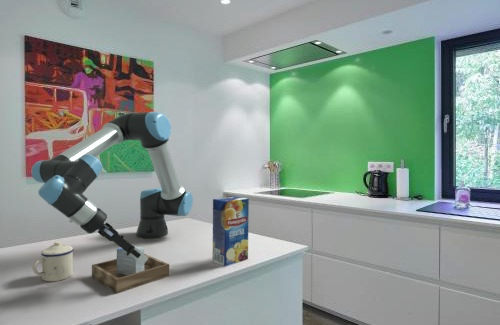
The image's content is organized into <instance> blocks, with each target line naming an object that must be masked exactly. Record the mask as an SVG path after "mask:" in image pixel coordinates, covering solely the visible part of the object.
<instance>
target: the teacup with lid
mask: <svg viewBox="0 0 500 325" xmlns="http://www.w3.org/2000/svg"><path fill="white" fill-rule="evenodd" d="M73 253H74V248H73V247H72V246H71V245H66V244H64V243H62V241H59V240H58V241H55V242H54V243H53V244H52V245H51V246H48V247H47V248H45V249H43V250H42V251H41V253H40V255H41V257H42V258H40V259H38V260H36V261H35V262H34V263H33V264H32V270H33V273H34V274H35V275H38V276H42V277H41V278H42V281H45V282H58V281H59V282H60V281H64V280H66V279H68V278H71V277H72V275H73V273H74V272H73V271H74V269H73V268H74V267H73V264H74V262H73V261H74V260H73V258H74V257H73ZM40 263H42V264H41V265H42V266H41V268H42V269H41V271H40V272H39V271H38V269H37V267H38V265H39V264H40Z"/></svg>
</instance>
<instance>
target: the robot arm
mask: <svg viewBox="0 0 500 325" xmlns="http://www.w3.org/2000/svg"><path fill="white" fill-rule="evenodd" d="M170 122H171V121H170V120H169V118H168V117H167V116H166V115H165V114H164V113H162V112H155V111H149V112H128V113H125V114H122V115H119V116H118V117H115V118H113V119H111V120H110V121H108V122H105V123H104V124H103V125H102V128H101V129H99V130H97V131H96V132H94V133H93V134H91V135H89V136H87V137H86V138H85V139H83V140H81V141H79V142H78V143H76V144H74V145H73V146H71V147H69V148H67V149H65V150H64V151H62V152H61V153H59V154H58V155H56V156H54V157H52V158H50V159H43V160H38V161H36V162H35V163H34V164H33V165H32V167H31V171H30V172H31V176H32V178H33V179H34V180H35V182H37V183H41V184H43V185H41V187H40V188H39V189H38V196H40V197H41V198H42V200H44V201H45V202H46V203H47V204H48V205H50V206H52V207H53V208H54V209H55V210H57V211H58V212H60V213H61V214H63V215H64V216H65V217H67V218H68V219H69V220H68V222H69V223H75V224H76V225H77V226H80V229H82V230H84V231H85V233H87V234H93V233H95V232H96V231H97V234H99V235H100V236H101V237H103V238H105V239H107V240H108V241H109V242H113V243H115V245H117V246H118V248H120V247H121V248H122V249H124V250H125V251H126V252H127V254H126V255H127V256H128V255H130V256H132V257H133V258H134V259H136V260H137V261H138V262H139V263H141V264H142V265H144V263H145V262H146V261H147V260H148V257H146V256H145V255H144V254H145V253H144V254H143V253H142V252H140V251H139V250H138V249H137V248H135V247H134V246H135V245H133V244H132V243H130V242H128V240H126V239H125V238H124V237H125V236H123V235H122V234H121V235H120V234H119V232H118V230H116V229H114V228H113V225H111V223H110V224H109V223H108V222H106V220H107V218H108V215H107V213H105V212H104V211H103V210H102V209H101V208H99V207H98V206H97V205H96V204H95V203H94V202H92V201H91V200H90V199H89V198H88V197H86V196H85V195H84V192H85V191H86V190H87V189H88V188H89V187H90V185H91V184H92V183H93V182H94V181H95V180H96V179H97V178H98V176H99V175H100V173H101V172H102V171H103V164H102V162H101V160H100V159H98V156H99V155H101V154H102V153H103V152H105V151H107V149H109V148H111V147H112V146H113V145H120V144H122V143H123V142H126V141H140V144H141V146H142V148H143V149H145V150H147V152H148V156H149V158H150V161H151V162H152V166H153V168H154V172H155V174H156V177H157V180H158V182H159V185H160V187H157V188H151V189H150V188H149V189H144V190H141V192H140V198H139V202H140V203H139V204H140V207H139V208H140V209H139V210H140V211H139V212H140V217H139V218H140V220H139V222H138V226H137V228H136V237H138V238H142V239H154V238H160V237H161V238H162V237H164V236H167V235H168V234H169V229H168V225H167V223H166V220H165V216H176V217H186V216H188V214H190V212H191V209H192V208H193V207H192V206H193V202H194V201H193V200H194V199H193V195H192V193H191V192H189V191H188V192H187V190H186V188H185V186H184V185H182V184H181V183H180V180H179V177H178V174H177V172H176V168H175V165H174V162H173V159H172V156H171V153H170V150H169V146H168V142H169V141H170V140H169V138H170V136H171V134H172V131H171V129H172V124H171V123H170Z"/></svg>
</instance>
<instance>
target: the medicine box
mask: <svg viewBox="0 0 500 325" xmlns="http://www.w3.org/2000/svg"><path fill="white" fill-rule="evenodd" d="M133 246H134V247H135V248H137V249H138V250H139V251H140V252H142V253H143V254H145V248H144V247H142V246H136V245H133ZM126 254H127V252H126V251H125V250H124V249H122V248H121V247H118V248H116V259H117V274H122V275H131V274H134V273H137V272H141V271H144V265H142V264H141V263H139V262H138V261H137V260H136V259H134V258H133V257H132V256H130V255H128V256H127V255H126Z"/></svg>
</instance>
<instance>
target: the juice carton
mask: <svg viewBox="0 0 500 325" xmlns="http://www.w3.org/2000/svg"><path fill="white" fill-rule="evenodd" d="M249 200H250V199H249V198H247V197H241V196H229V197H221V198H213V199H212V262H213V263H216V264H218V265H220V266H223V267H227V266H231V265H234V264H237V263H240V262H243V261H246V260H249V211H250V210H249V204H250V203H249Z"/></svg>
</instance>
